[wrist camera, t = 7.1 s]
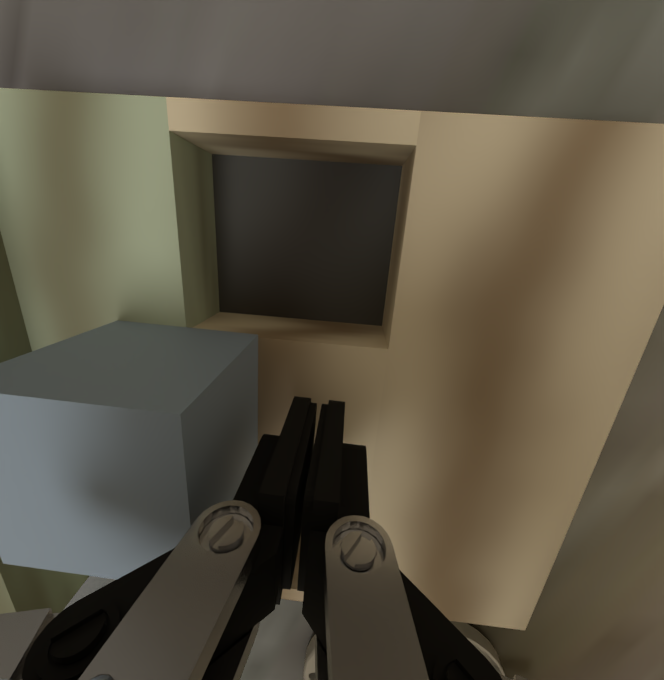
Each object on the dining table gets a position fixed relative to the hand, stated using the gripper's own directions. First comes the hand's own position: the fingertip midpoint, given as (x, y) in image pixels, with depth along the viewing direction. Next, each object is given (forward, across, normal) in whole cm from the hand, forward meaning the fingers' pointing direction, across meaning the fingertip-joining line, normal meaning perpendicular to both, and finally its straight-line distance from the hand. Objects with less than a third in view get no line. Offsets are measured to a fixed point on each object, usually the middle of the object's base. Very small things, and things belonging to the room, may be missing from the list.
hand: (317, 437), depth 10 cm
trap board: (+4, +1, 0) cm, 5 cm away
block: (+1, +5, 0) cm, 5 cm away
